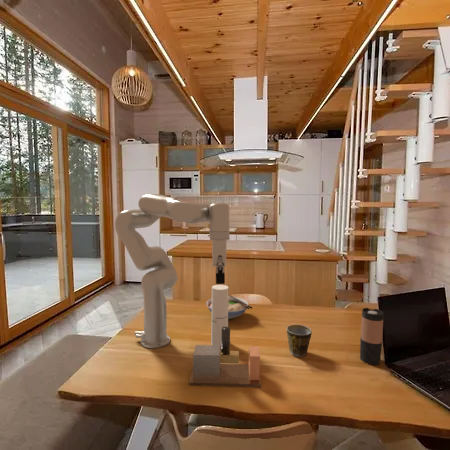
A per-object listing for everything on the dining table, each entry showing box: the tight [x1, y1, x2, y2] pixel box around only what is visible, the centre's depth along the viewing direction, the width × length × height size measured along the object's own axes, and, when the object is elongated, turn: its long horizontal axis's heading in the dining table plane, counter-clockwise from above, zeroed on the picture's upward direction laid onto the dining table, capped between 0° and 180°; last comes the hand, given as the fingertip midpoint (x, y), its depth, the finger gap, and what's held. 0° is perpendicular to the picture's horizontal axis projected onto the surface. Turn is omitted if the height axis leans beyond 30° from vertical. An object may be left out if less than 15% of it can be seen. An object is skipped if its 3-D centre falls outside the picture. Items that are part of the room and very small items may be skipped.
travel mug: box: [359, 307, 384, 366], centre depth 117 cm, size 8×8×20 cm
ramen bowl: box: [206, 293, 253, 320], centre depth 160 cm, size 25×23×8 cm
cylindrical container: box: [210, 284, 229, 348], centre depth 129 cm, size 7×7×25 cm
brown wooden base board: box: [188, 344, 262, 388], centre depth 106 cm, size 24×12×9 cm, turn 89°
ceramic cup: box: [286, 324, 313, 358], centre depth 121 cm, size 13×10×10 cm
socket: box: [248, 345, 261, 380], centre depth 105 cm, size 3×7×8 cm, turn 179°
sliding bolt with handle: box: [220, 326, 240, 364], centre depth 105 cm, size 16×3×12 cm, turn 89°
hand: (220, 280), depth 114 cm, fingers open, 9 cm apart
